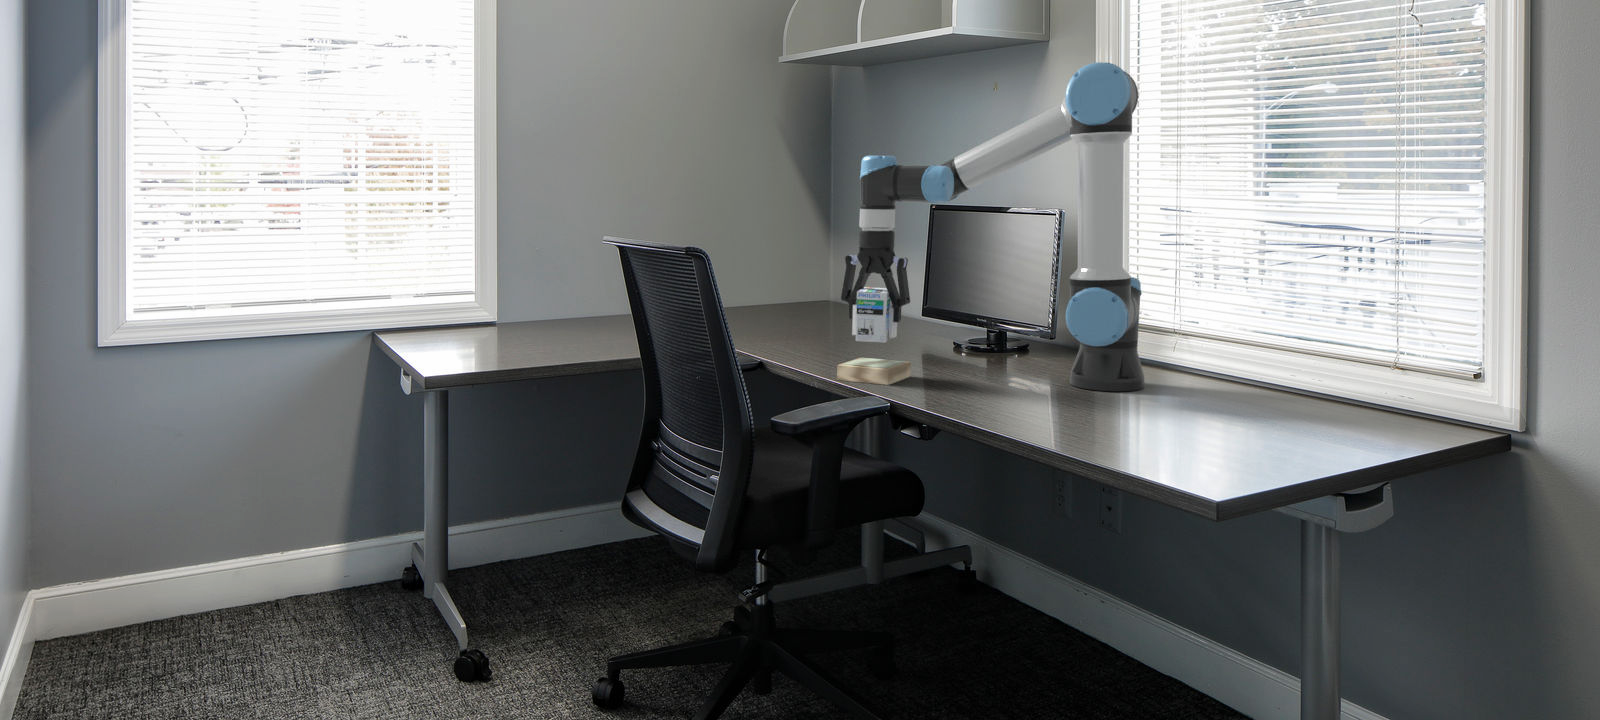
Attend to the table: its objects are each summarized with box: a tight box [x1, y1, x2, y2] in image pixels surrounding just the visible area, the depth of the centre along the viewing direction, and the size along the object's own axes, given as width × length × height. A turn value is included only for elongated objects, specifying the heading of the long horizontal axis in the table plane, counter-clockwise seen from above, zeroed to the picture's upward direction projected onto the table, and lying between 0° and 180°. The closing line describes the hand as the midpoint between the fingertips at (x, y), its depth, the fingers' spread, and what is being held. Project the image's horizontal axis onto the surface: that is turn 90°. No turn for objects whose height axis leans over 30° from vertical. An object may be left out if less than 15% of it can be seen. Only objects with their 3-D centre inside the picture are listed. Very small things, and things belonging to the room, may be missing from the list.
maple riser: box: [836, 357, 912, 386], centre depth 242 cm, size 12×12×3 cm
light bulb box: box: [855, 286, 893, 344], centre depth 240 cm, size 11×7×11 cm, turn 168°
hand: (874, 335), depth 241 cm, fingers closed on light bulb box, 8 cm apart
